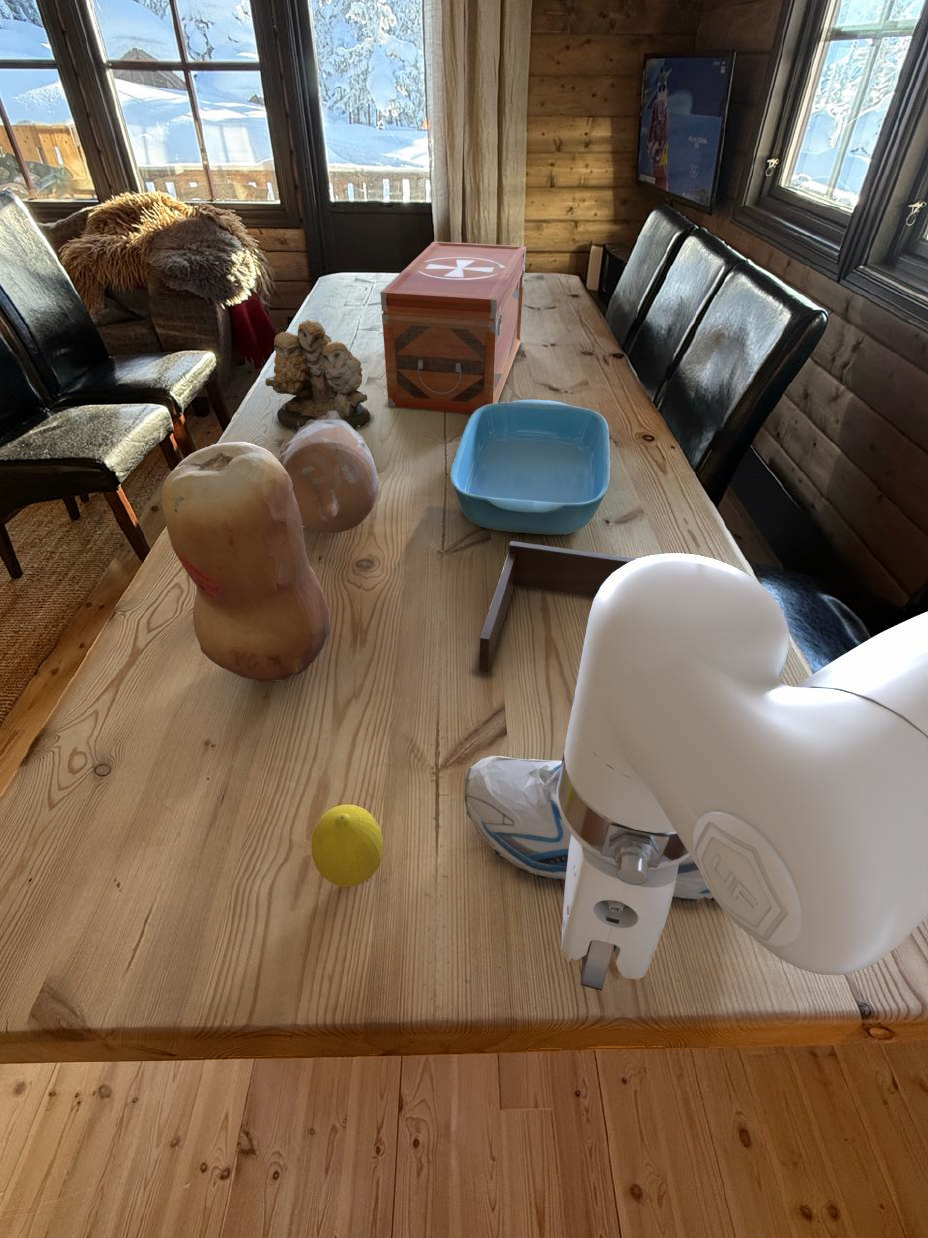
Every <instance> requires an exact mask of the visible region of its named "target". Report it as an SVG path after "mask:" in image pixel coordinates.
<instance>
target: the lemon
mask: <svg viewBox="0 0 928 1238" xmlns="http://www.w3.org/2000/svg"><path fill="white" fill-rule="evenodd" d="M383 856H384V839H383V834H382V830H381V827H380V826H379V823H378V822H377V820H376V819H375V818H374V816H373V815H372V814H371V813H370V812H369V811H368V810H367V809H365V808H363V807H361V806H358V805H355V804H341V805H337V806H335V807H332V808H330V809H329V810H328V811H326V812H324V814H323V815H322V816H321V817H320V818H319V819H318V822H317V823H316V825H315V827H314V830H313V833H312V837H311V857H312V860H313V863H314V866H315V868H316V870H317V871H318V873H319V874H320V875H321V877H323V879H324V880H326V881H327V882H328V883H329V884H332V885H334V886H337V887H342V888H352V887H356V886H359V885H362V884H364V883H365V882H366V881H368V880H370V879H371V877H373V875H374V874H375V873H376V872H377V870H378V869H379V867H380V865H381V861H382V859H383Z"/></svg>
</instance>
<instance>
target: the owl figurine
mask: <svg viewBox="0 0 928 1238" xmlns="http://www.w3.org/2000/svg"><path fill="white" fill-rule="evenodd" d="M273 342H274V343H273V346H274V351H275V355H274V356H275V357H274V361H273V363H274V366H273V373H274V375H273V376H269V377H265V381H264V382H265V386H267V387H272V390H273V391H274V392H276V393H277V394H281V395H291V396H293V397H292V398H291V399H289V400H287V401H285V403H284V404H282V405H281V407H279V409H278V410H277V412H276V416H277V420H278V422H279V424H281V425H282V426H283V427H285V428H288V429H293V430H295V431H298V430H299V429H300V428H301V427H303V426H304V425H305V424H306V422H307V421H309V420H311V419H312V420H316V419H318V418H319V417H321V416H324V415H326V414H327V412H328V411H337V412H338V414H339V416H340V418H341V419H343V420H344V421H346V422H347V423H348V424H349V425H350V426H352V428H353V429H354V430H356V429H358V427H359V428H363V427H365V426H366V425H367V424H368V423H369V422H370V420H371V413H370V411H369V410H368V408H366V407H364V405H362V403H365V402H366V401H367V400H368V395H367V394H366V393H365V392H361V391H359V390H358V389H359V388H360V387H361V385H362V383H363V373H362V372H363V368H362V367H361V366H362V362H361V361H360V359H358V358H357V357H355V356H354V355H353V354H352V352H351V350H349V348H348V347H347V346H346V344H344V343H343V342H342V341H333V340H332V337H331V336H330V335H328V334H326V330H325V328H324V326H323V325H322V324H320V322H319V321H317V320H315V319H312V318H308V319H305V320H303V321H301V322H300V323H299V325H298V327H297V334H295V333H292V332H290V331H282V332H280V333H278V334H276V335H275V337H274V341H273Z"/></svg>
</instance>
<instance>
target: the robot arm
mask: <svg viewBox="0 0 928 1238" xmlns="http://www.w3.org/2000/svg"><path fill="white" fill-rule="evenodd" d="M748 574H749V573H746V572H745V571H742V570H741V569H739V568H738V567H735V566H733V565H731V564H729V563H726V562H723V561H720V560H717V559H715V558H711V557H707V556H703V555H698V554H691V553H681V552H680V553H679V552H677V553H675V552H674V553H673V552H672V553H670V552H669V553H659V554H653V555H652V554H651V555H647V556H643V557H640V558H639V557H638V558H636V560H634V561H631V562H629V563H627V564H625V565H624V566H622V567H621V568H619V569H618V570H616V571H615V572H613V573H612V574H611V575H610V576H609V577H608V578H607V580H606V581H605V582H604V583H603V584H602V585H601V587H600V589H599V591H598V593H597V594H596V596H595V597H593V601H592V604H591V608H590V610H589V611H590V612H589V615H588V619H587V624H586V629H585V636H584V640H583V647H582V652H581V659H580V663H579V667H578V669H579V670H578V673H577V680H576V684H575V690H574V695H573V700H572V704H571V705H572V707H571V711H570V716H569V722H568V726H567V727H568V728H567V733H566V738H565V743H564V749H563V754H562V759H561V761H562V764H561V769H560V775H559V779H558V784H557V805H558V808H559V812H560V815H561V817H562V820H563V822H564V824H565V826H566V827H567V829H568V830H569V832H570V833H571V838H570V845H569V853H568V862H567V871H566V878H565V880H564V881H565V882H564V894H563V907H562V908H563V911H562V922H561V923H562V924H561V941H560V952H561V953H562V956H563V957H564V959H566V961H567V962H568V963H571V960H579V959H581V967H580V968H581V969H580V980H579V982H580V983H579V985H580V987H584V988H589V989H592V990H597V991H601V992H602V991H603V988H604V986H605V985H604V984H605V981H606V978H607V974H608V971H609V966H610V962H611V959H612V955H613V953H614V954H616V957H615V965H616V967H617V969H618V971H619V973H620V974H621V976H622V978H627V979H631V980H632V979H633V980H638V981H639V980H640V979H642V978H643V977H644V976H646V974H647V972H648V971H649V969H650V967H651V964H652V961H653V958H654V956H655V954H656V951H657V948H658V946H659V943H660V941H661V936H662V935H663V931H664V929H665V925H666V923H667V920H668V916H669V912H670V909H671V905H672V901H673V898H674V897H673V893H674V888H675V884H676V878H677V872H678V866H679V863H680V862H681V861H683V860H685V859H686V858H687V857H688V856H691V857H692V859H693V860H694V862H695V864H696V865H697V867H698V868H699V870H700V872H701V875H702V877H703V879H704V881H705V883H706V885H707V887H708V889H709V890H710V892H711V894H712V895H713V897H714V899H715V900H714V901H715V902H716V903H717V904H718V905H719V907H720V908H721V909H722V911H723V912H724V913H725V914H726V915H727V916H728V917H729V918H730V920H731V921H732V922H733V923H734V924H735V925H736V926H738V927H739V928H740V929H741V930H742V931H744V933H746V934H748V935H749V936H751V937H752V938H753V940H755V941H756V942H757V943H758V944H760V945H761V946H762V947H763V948H765V949H766V950H767V951H768V952H770V954H773V955H774V956H775V957H777V958H778V959H779V960H782V961H784V963H785V962H786V963H787V964H789V965H791V966H792V967H795V968H797V969H799V970H803V971H806V972H809V973H813V974H815V975H816V974H817V975H823V976H842V975H844V976H845V975H850V974H853V973H856V972H860V971H863V970H865V969H867V968H869V967H872V966H874V965H876V963H878V962H880V961H881V960H883V959H884V958H885V957H886V956H888V954H890V953H891V952H892V951H893V950H895V949H896V948H898V946H900V945H901V944H902V943H903V942H904V941H905V940H907V938H908V937H909V936H910V935H911V934H912V933H913V932H914V931H915V930H916V929H917V928H918V927H919V926H920V925H921V924H922V923H923V922H924V921H925V920H926V918H928V611H926V612H924V613H920V614H919V615H916V616H913V617H912V618H910V619H907V620H905V621H903V622H901V623H898V624H897V625H894V626H893V627H890V628H888V629H886V630H884V631H882V632H880V633H878V634H876V635H874V636H873V637H871V638H869V639H868V640H866V641H864V642H862V643H861V644H859V645H858V646H856V647H854V648H852V649H851V650H849V651H848V652H846V653H844V654H843V655H841V656H839V657H838V658H836V659H835V660H833V661H831V662H830V663H828V664H827V665H825V666H824V667H822V668H821V669H819V670H818V671H816V672H814V673H813V674H812V675H810V676H809V677H807V678H805V679H804V680H803V681H801V682H800V683H798V684H796V685H795V686H792V685H787V684H786V683H785V682H784V681H783V680H782V679H781V675H782V672H783V671H784V668H785V665H786V663H787V660H788V655H789V649H790V641H791V639H790V638H791V637H790V630H789V625H788V620H787V618H786V616H785V614H784V612H783V610H782V608H781V605H780V603H779V602H778V601H777V599H776V598H775V597H774V595H773V594H772V593H771V592H770V591H769V590H768V589H767V588H766V587H765V586H764V585H762V584H761V583H760V582H758V581H757V580H756V579H755V578H754V577H752V576H749V575H748ZM672 897H673V898H672Z"/></svg>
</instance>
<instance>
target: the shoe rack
mask: <svg viewBox="0 0 928 1238" xmlns="http://www.w3.org/2000/svg"><path fill="white" fill-rule="evenodd" d="M636 559H637V558H635V557H629V556H628V557H627V556H622V555H615V554H606V553H600V552H593V551H585V550H579V549H571V548H566V547H565V548H564V547H557V546H550V545H542V544H536V543H529V542H522V541H515V540H510V541H509V544H508V553H507V555H506V558H505V562H504V563H503V564H504V565H503V567H502V571H501V572H500V577H499V580H498V583H497V585H496V588H495V592H494V595H493V597H492V600H491V604H490V606H489V609H488V612H487V616H486V619H485V621H484V625H483V628H482V630H481V633H480V636H479V654H478V655H479V656H478V657H479V659H478V672H480V673H485V674H488V673H489V670H490V667H491V663H492V660H493V657H494V655H495V651H496V647H497V644H498V640H499V638H500V634H501V630H502V627H503V625H504V620H505V617H506V614H507V611H508V607H509V605H510V601H511V598H512V594H513V591H514V587H515V586H517V587H522V588H530V589H537V590H544V591H548V592H550V591H551V592H555V593H556V592H557V593H562V594H563V593H564V594H569V595H576V596H583V597H590V598H595V596H596V594H597V593H598V591H599V589H600V587H601V585H602V584H603V583H604V582H605V581H606V580H607V578H608V577H609V576H610V575H611V574H612V573H613V572H615V571H616V570H618V569H619V568H621V567H622V566H624V565H625V564H627V563H629V562H631V561H634V560H636ZM747 574H748V575H749V576H751V574H750V573H747ZM751 577H752V576H751Z"/></svg>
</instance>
